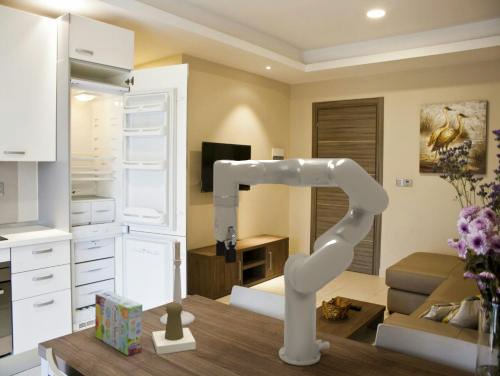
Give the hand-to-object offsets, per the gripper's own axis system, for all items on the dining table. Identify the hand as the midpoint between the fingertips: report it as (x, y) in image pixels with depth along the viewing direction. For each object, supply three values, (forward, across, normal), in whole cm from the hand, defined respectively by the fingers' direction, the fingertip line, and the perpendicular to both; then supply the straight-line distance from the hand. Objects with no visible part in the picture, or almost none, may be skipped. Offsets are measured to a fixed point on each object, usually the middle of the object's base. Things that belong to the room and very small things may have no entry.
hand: (225, 259), depth 126 cm
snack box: (+31, -21, -30) cm, 48 cm away
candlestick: (+31, -36, -8) cm, 48 cm away
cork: (+28, -15, -13) cm, 34 cm away
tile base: (+30, -15, -13) cm, 36 cm away
